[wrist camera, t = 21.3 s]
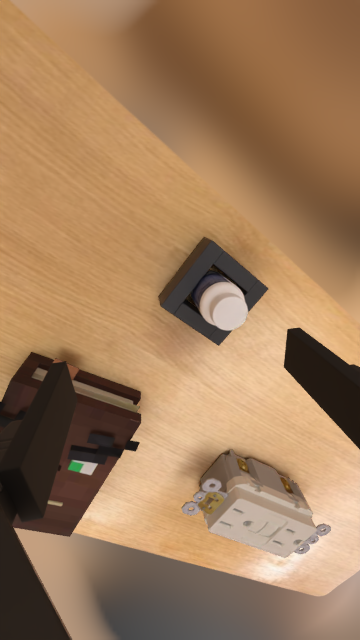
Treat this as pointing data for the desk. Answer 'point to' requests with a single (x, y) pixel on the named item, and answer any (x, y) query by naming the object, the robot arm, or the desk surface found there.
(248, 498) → the electrical outlet
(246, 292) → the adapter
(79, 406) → the decorative book
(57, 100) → the desk surface
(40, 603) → the robot arm
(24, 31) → the desk surface
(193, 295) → the pill bottle
